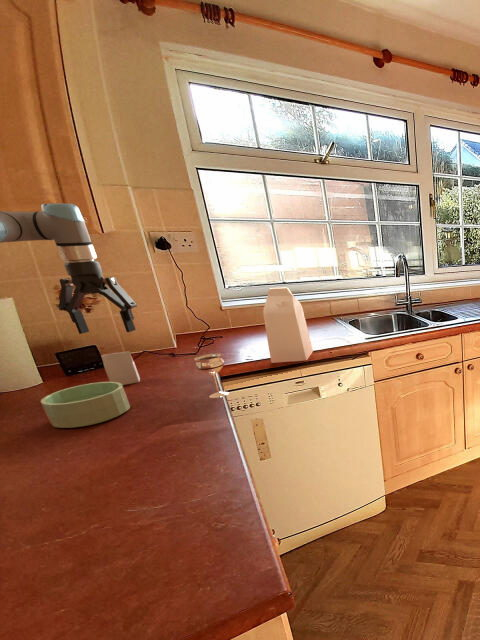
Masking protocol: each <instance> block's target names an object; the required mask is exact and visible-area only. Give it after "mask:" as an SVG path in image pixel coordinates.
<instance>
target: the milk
mask: <svg viewBox="0 0 480 640" xmlns="http://www.w3.org/2000/svg"><path fill="white" fill-rule="evenodd" d="M262 314H263V321H264V327H265V333H266V339H267V345H268V351H269V352H268V353H269V358H270V362H271V364H275V363H290V362H302V361H307V360H308V359H309V358H310V357H311V355H312V354H313V352H314V349H313V346H312V345H313V344H312V341H311V337H310V333H309V330H308V326H307V321H306V317H305V313H304V309H303V306H302V304H301V302H300V301H299V300H298V299H297V298H296V296H294V294H293V292H291V289H290V288H289V287H270V288H268V293H267V297H266V300H265V303H264V306H263V311H262Z"/></svg>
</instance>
